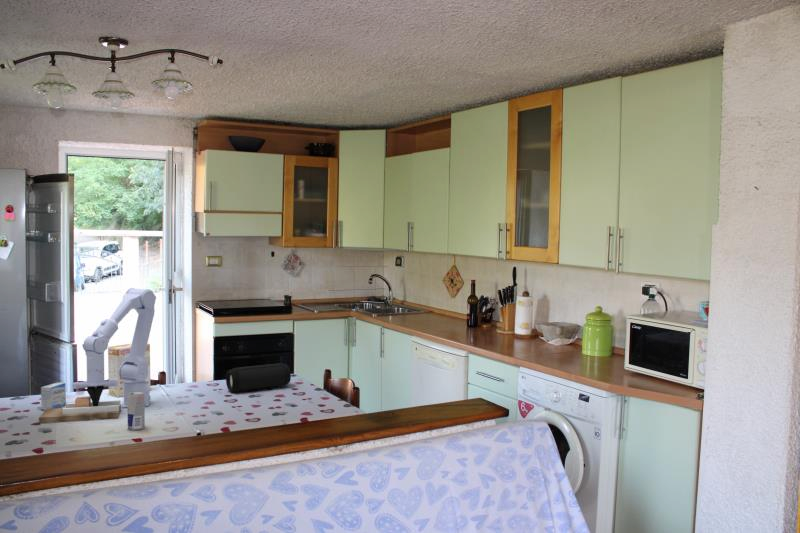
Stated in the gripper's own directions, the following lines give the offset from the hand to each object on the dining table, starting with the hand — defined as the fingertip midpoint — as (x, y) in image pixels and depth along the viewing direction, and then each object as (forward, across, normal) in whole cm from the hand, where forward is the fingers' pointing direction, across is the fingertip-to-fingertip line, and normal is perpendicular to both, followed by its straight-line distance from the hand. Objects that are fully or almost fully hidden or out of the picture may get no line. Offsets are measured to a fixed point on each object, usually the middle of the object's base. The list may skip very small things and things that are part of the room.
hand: (95, 407), depth 246 cm
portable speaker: (+3, +60, +27) cm, 66 cm away
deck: (+3, -5, 0) cm, 6 cm away
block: (+1, -4, 0) cm, 4 cm away
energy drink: (+3, +15, -20) cm, 25 cm away
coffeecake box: (+3, +9, +33) cm, 34 cm away
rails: (+1, -1, 0) cm, 2 cm away
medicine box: (+3, -16, +15) cm, 22 cm away
